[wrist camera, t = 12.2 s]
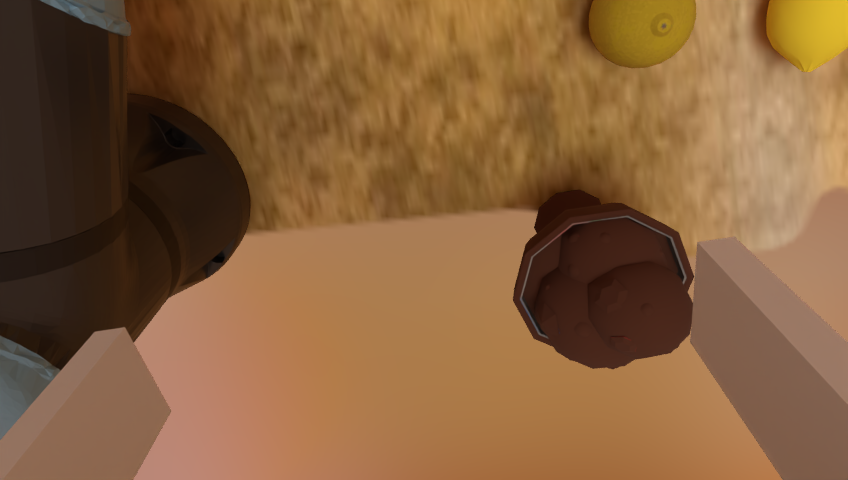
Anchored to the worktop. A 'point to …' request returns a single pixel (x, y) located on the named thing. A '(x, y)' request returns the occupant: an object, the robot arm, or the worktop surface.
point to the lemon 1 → (640, 29)
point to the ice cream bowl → (604, 282)
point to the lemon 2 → (808, 30)
